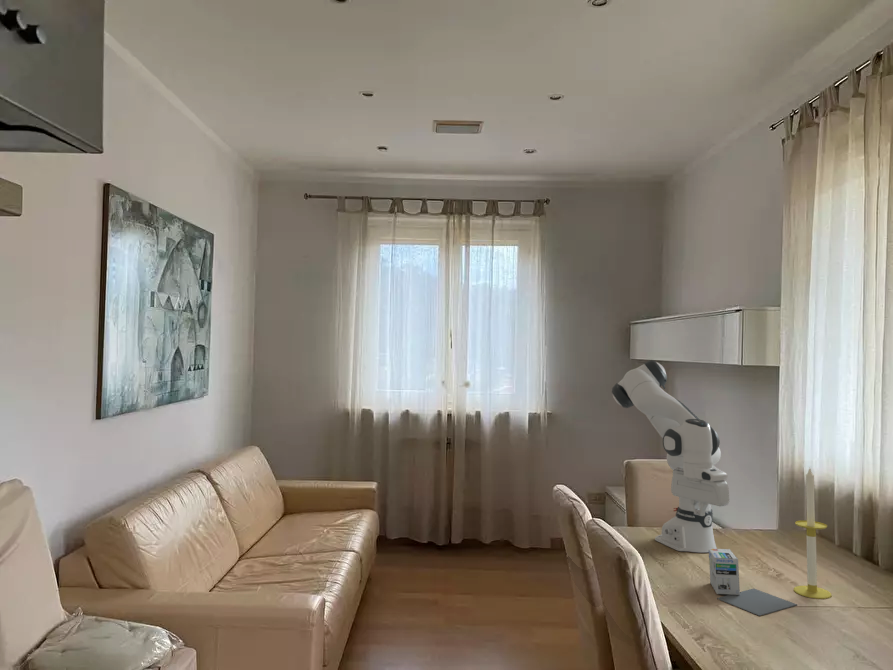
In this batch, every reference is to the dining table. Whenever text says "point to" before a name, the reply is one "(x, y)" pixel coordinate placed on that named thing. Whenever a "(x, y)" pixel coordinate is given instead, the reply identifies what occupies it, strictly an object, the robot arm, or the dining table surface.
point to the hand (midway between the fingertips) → (699, 515)
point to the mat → (757, 602)
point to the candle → (811, 545)
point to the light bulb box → (724, 571)
